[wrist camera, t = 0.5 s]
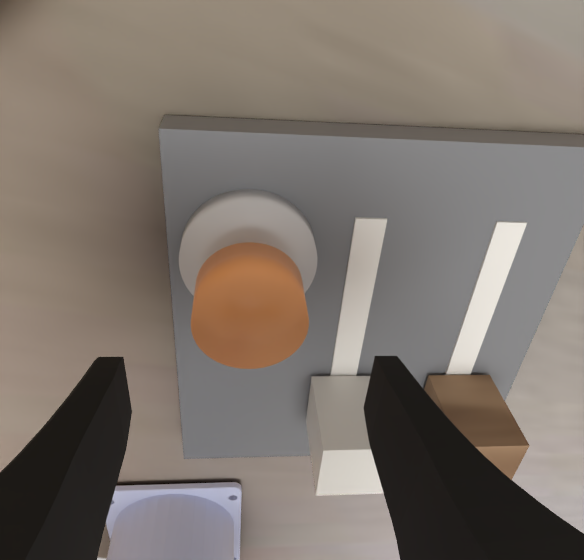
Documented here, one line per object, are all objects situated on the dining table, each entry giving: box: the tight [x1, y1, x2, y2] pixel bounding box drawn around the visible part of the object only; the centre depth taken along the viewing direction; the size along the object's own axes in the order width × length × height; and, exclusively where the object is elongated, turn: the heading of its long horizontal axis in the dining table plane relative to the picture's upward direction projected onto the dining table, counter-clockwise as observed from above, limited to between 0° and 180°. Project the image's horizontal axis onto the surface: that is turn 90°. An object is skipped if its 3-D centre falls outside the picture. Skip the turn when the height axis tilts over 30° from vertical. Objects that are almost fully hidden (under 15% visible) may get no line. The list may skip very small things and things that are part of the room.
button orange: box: [191, 242, 309, 369], centre depth 16 cm, size 4×4×2 cm
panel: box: [159, 115, 584, 459], centre depth 22 cm, size 17×16×2 cm
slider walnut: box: [424, 375, 529, 480], centre depth 23 cm, size 3×3×4 cm
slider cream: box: [306, 376, 384, 496], centre depth 22 cm, size 3×3×4 cm
